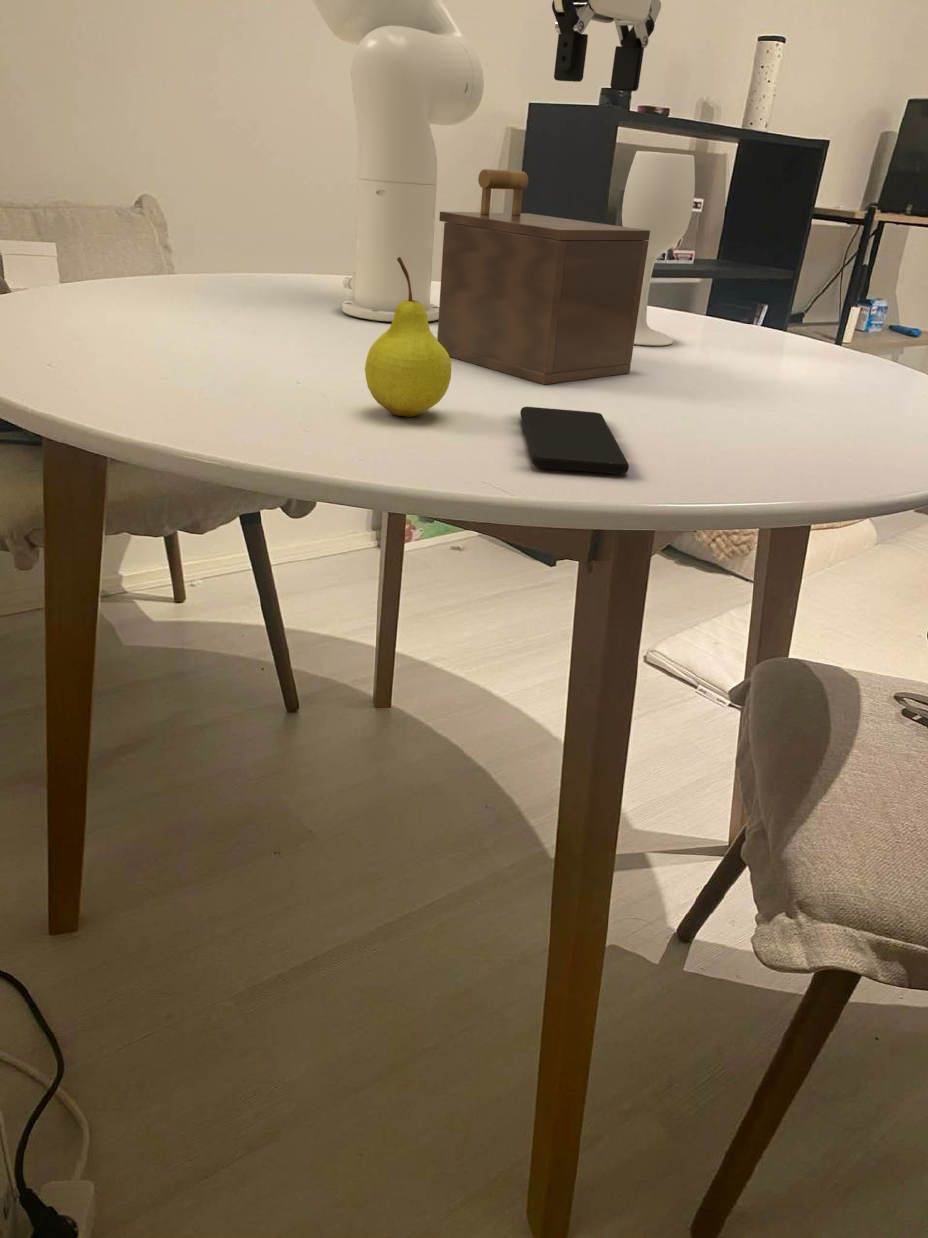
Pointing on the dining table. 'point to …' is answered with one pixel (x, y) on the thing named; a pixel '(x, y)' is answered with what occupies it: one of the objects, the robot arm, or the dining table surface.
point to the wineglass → (658, 216)
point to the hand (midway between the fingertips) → (596, 85)
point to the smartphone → (571, 441)
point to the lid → (533, 215)
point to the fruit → (408, 362)
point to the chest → (540, 303)
